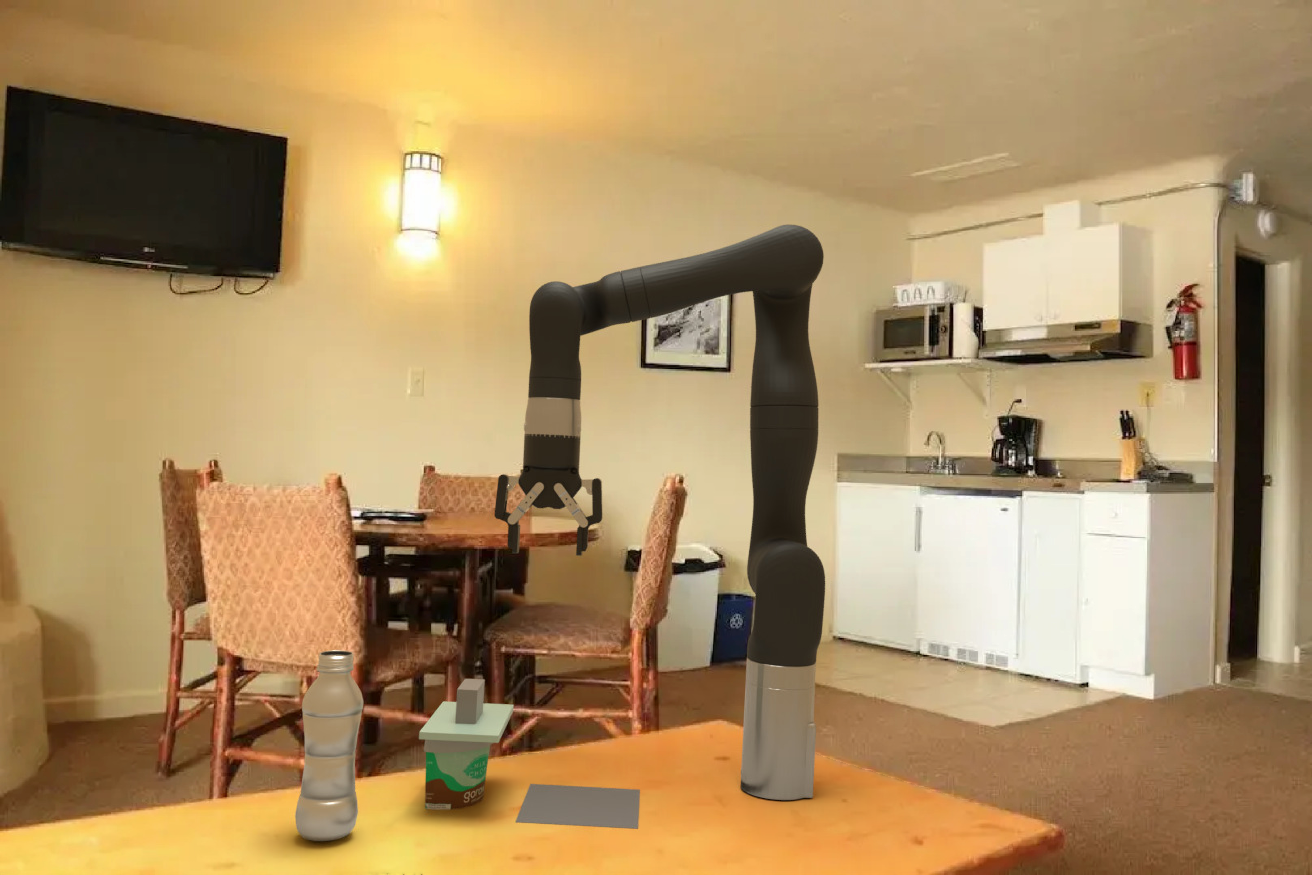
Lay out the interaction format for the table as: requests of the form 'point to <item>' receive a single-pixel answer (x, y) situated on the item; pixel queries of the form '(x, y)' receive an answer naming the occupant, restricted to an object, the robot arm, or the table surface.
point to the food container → (455, 773)
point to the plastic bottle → (330, 750)
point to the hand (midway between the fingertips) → (547, 553)
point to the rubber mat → (580, 806)
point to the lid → (468, 717)
